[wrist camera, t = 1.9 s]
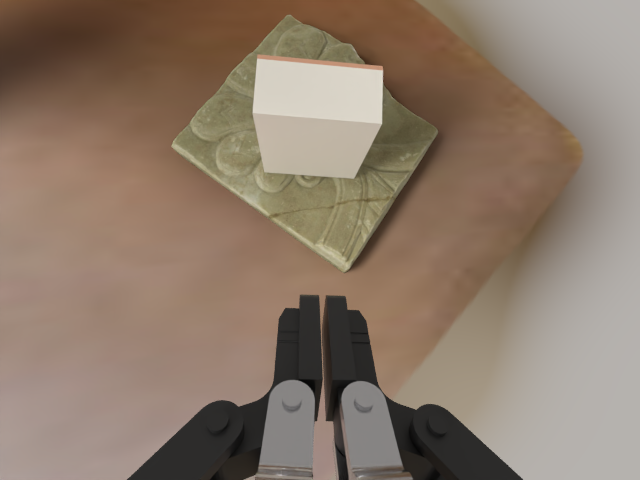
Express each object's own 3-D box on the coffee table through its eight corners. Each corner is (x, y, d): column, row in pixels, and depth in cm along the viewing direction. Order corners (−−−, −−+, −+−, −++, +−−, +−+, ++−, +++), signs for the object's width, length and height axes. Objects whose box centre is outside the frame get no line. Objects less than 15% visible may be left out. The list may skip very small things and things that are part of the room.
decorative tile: (343, 276, 34) (349, 273, 30) (176, 156, 35) (163, 139, 31) (443, 133, 37) (459, 115, 34) (289, 27, 38) (289, -2, 35)
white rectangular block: (264, 172, 31) (252, 113, 21) (267, 130, 32) (257, 54, 22) (354, 178, 32) (382, 123, 22) (355, 137, 33) (383, 66, 23)
